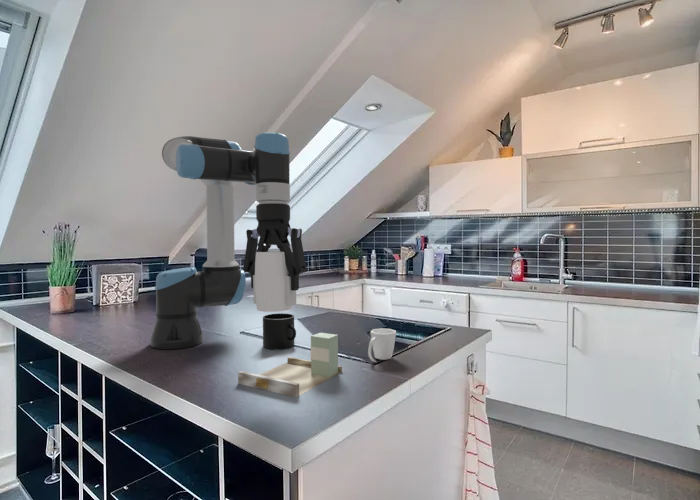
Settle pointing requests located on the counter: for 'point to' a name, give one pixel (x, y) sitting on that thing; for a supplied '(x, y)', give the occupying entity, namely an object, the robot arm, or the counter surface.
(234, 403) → the counter surface
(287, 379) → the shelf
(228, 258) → the robot arm
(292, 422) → the counter surface
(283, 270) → the cup
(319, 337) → the tea carton
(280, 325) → the mug
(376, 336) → the cup
